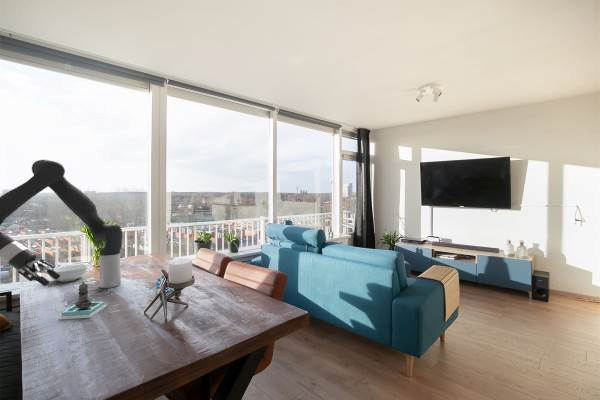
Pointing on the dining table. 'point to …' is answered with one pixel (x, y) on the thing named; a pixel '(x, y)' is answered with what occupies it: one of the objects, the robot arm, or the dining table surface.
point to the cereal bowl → (70, 272)
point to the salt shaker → (83, 298)
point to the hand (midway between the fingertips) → (53, 280)
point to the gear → (160, 283)
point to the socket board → (83, 311)
